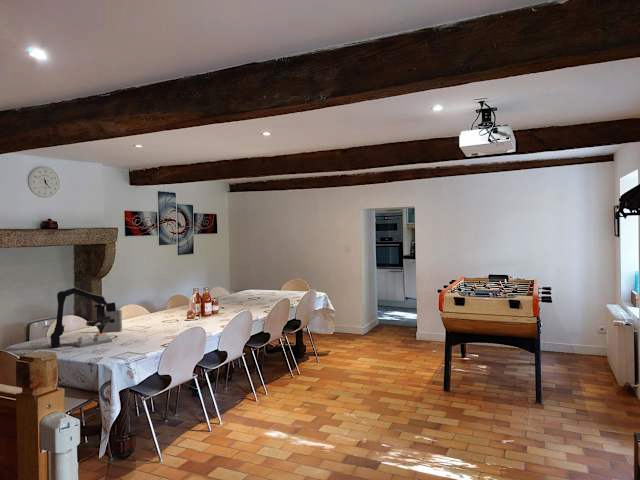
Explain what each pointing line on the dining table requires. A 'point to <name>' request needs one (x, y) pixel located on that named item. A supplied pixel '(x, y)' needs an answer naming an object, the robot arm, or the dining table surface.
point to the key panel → (92, 341)
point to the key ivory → (85, 337)
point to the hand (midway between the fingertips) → (100, 333)
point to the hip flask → (117, 324)
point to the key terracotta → (100, 334)
